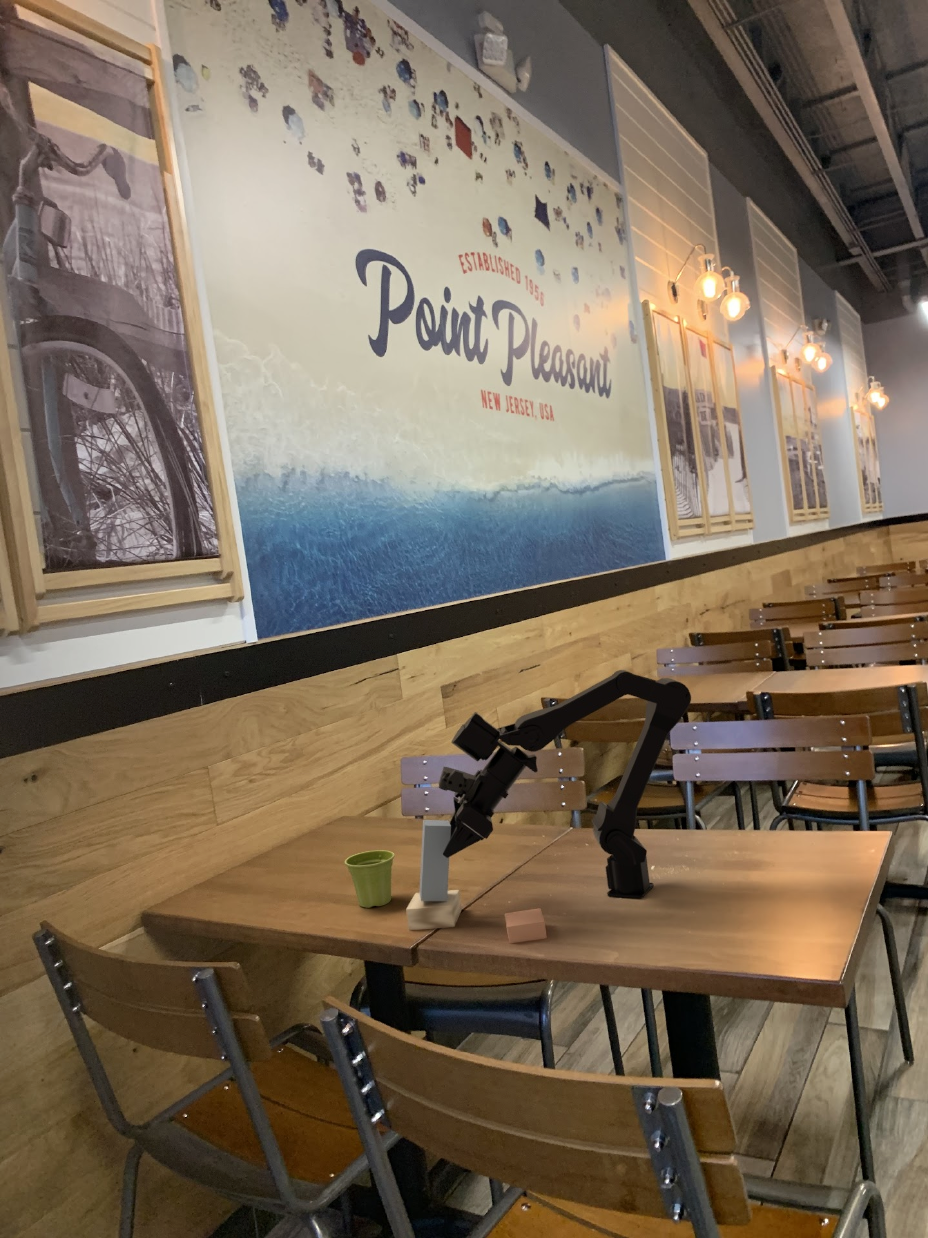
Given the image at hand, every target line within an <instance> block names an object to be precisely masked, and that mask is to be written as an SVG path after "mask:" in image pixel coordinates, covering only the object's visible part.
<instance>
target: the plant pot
mask: <svg viewBox="0 0 928 1238" xmlns="http://www.w3.org/2000/svg"><path fill="white" fill-rule="evenodd" d="M394 858H395V853H394V852H392V851H390V850H385V849H384V850H383V849H381V850H380V849H377V850H368V851H363V852H359V853H356V854H353V855H350V856H348V857H347V858H346V859H345V860H344V865H345V866H346V867H347V869H348V871H349V873H350V875H351V879H352V883H353V887H354V891H355V894H356V898H357V902H358V905H359V906H360V907H362V908H367V909H368V908H372V907H375V906H376V907H383V906H384V905H387V904H389V903H390V902H391V900H392V867H393V864H394V861H393V859H394Z"/></svg>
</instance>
